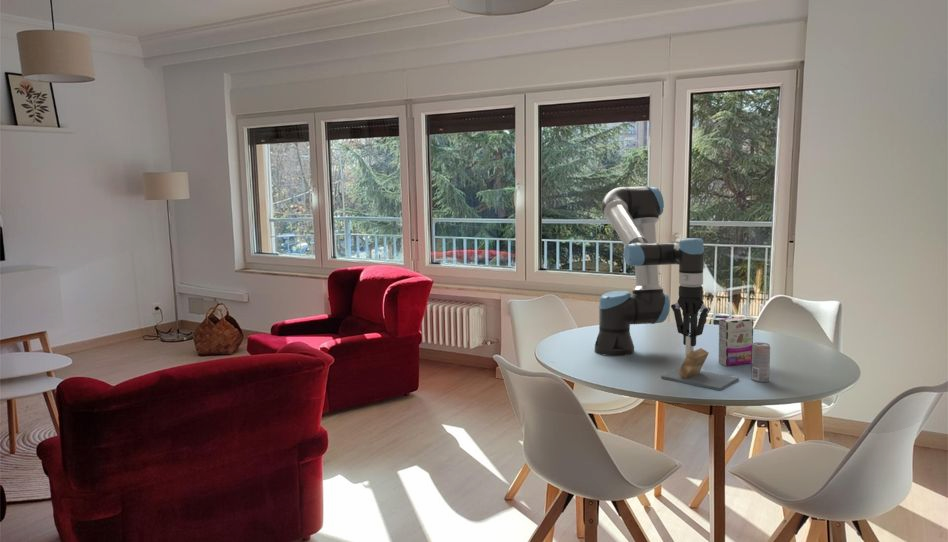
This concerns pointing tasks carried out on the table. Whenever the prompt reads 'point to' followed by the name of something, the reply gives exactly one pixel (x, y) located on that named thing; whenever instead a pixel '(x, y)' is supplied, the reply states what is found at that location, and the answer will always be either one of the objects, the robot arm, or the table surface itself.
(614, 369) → the table surface
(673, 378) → the mat
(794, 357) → the table surface
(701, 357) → the slab
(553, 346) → the table surface
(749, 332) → the candy bar box
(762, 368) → the energy drink
